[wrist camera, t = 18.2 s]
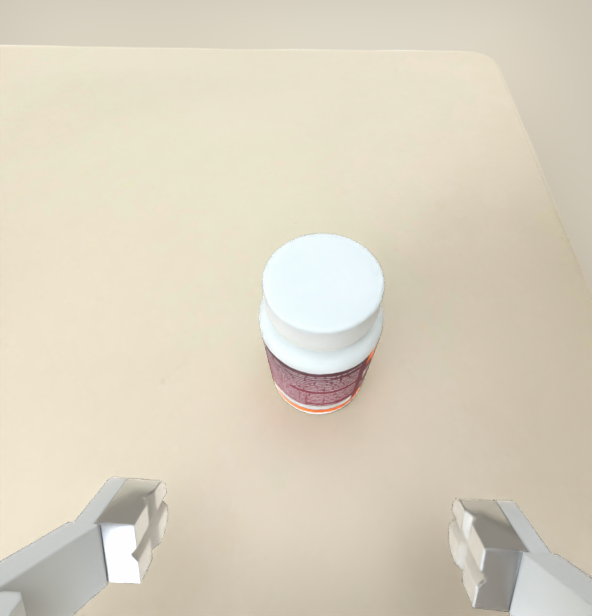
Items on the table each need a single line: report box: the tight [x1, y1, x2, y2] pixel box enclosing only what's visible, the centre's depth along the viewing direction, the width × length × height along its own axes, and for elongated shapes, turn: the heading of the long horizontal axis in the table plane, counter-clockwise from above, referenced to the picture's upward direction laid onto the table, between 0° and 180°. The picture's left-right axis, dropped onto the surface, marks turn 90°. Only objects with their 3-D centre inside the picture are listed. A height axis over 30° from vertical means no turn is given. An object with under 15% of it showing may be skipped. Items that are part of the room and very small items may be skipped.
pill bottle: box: [259, 233, 384, 414], centre depth 15 cm, size 5×5×8 cm
